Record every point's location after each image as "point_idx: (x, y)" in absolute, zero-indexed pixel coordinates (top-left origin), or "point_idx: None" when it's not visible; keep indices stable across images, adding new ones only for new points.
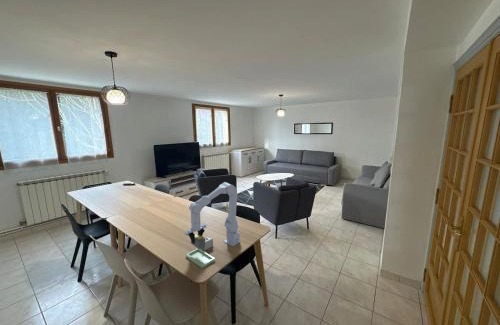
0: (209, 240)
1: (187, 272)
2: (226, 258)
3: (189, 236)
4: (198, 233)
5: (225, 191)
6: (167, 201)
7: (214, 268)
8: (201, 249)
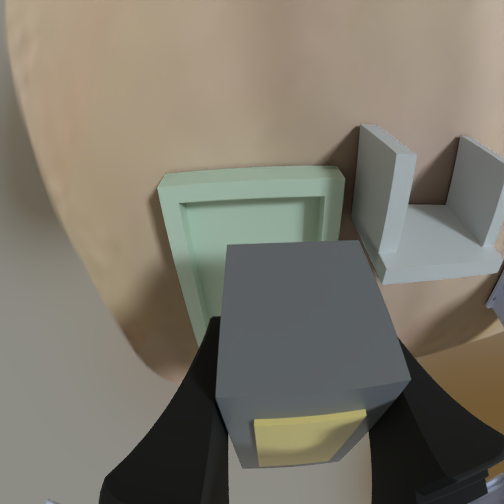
0: (460, 272)
1: (122, 323)
2: None
3: (156, 429)
4: (398, 407)
5: None
6: None
7: None
8: (339, 230)
